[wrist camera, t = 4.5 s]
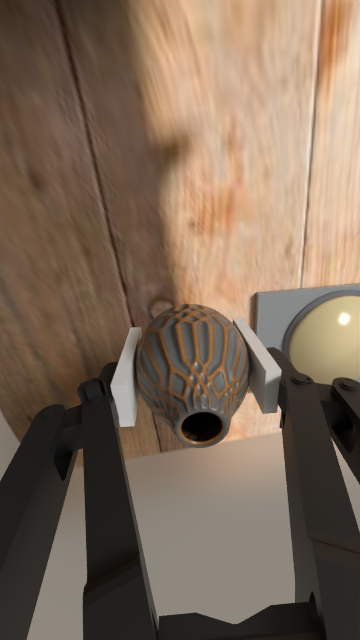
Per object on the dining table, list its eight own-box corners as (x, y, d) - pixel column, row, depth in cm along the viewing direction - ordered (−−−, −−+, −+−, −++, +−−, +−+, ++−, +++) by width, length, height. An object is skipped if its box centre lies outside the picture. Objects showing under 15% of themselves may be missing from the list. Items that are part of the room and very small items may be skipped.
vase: (227, 371, 20) (268, 479, 12) (144, 373, 19) (127, 484, 11) (236, 291, 17) (298, 360, 9) (139, 291, 17) (112, 362, 9)
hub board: (256, 292, 28) (262, 297, 26) (422, 277, 28) (441, 280, 26) (252, 389, 33) (257, 398, 31) (392, 375, 33) (405, 384, 31)
